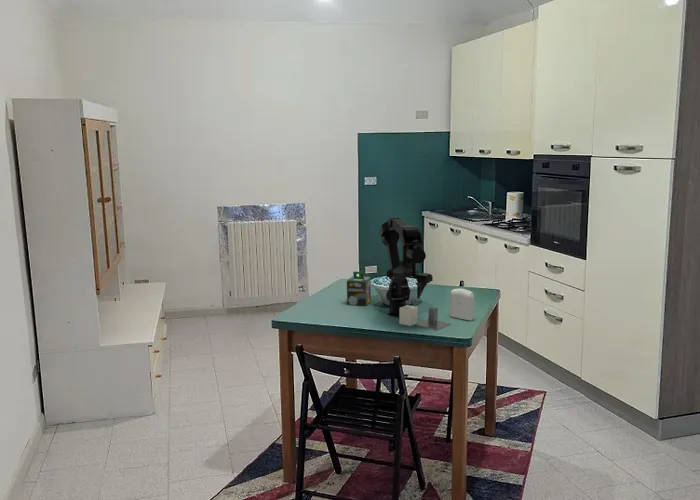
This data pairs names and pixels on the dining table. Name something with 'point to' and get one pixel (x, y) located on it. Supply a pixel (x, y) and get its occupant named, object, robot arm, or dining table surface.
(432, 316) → the post
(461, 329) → the dining table surface
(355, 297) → the chalk box
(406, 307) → the cream rectangular block
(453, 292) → the photo printer
